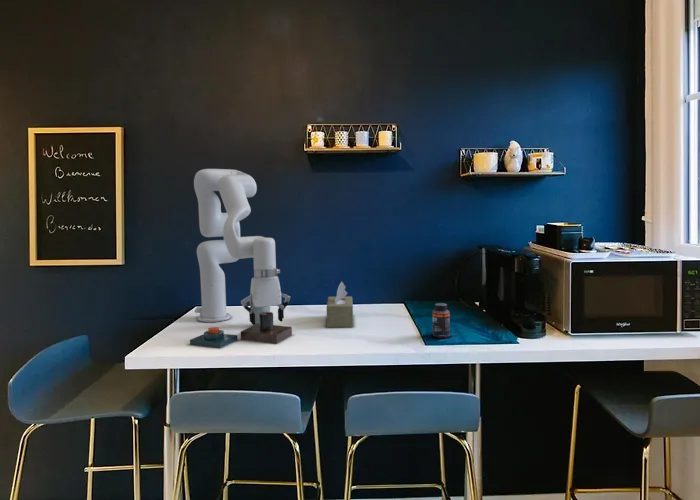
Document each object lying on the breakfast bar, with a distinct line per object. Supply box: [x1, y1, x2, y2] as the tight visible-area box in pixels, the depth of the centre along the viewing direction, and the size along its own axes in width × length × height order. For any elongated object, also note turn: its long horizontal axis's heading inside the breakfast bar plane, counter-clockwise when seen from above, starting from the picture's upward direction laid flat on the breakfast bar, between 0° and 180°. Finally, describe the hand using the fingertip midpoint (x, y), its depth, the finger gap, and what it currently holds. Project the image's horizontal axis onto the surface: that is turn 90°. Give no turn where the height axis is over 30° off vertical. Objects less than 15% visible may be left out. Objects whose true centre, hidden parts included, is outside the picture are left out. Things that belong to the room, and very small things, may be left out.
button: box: [207, 326, 220, 334], centre depth 170 cm, size 4×4×2 cm
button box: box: [189, 329, 238, 349], centre depth 170 cm, size 12×10×4 cm
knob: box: [259, 311, 274, 331], centre depth 175 cm, size 5×5×6 cm
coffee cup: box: [249, 301, 271, 326], centre depth 191 cm, size 8×8×12 cm
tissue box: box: [326, 281, 354, 328], centre depth 196 cm, size 19×10×16 cm, turn 0°
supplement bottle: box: [432, 302, 451, 339], centre depth 175 cm, size 6×6×11 cm
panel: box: [240, 324, 293, 344], centre depth 176 cm, size 14×11×3 cm
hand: (266, 322), depth 175 cm, fingers open, 9 cm apart
